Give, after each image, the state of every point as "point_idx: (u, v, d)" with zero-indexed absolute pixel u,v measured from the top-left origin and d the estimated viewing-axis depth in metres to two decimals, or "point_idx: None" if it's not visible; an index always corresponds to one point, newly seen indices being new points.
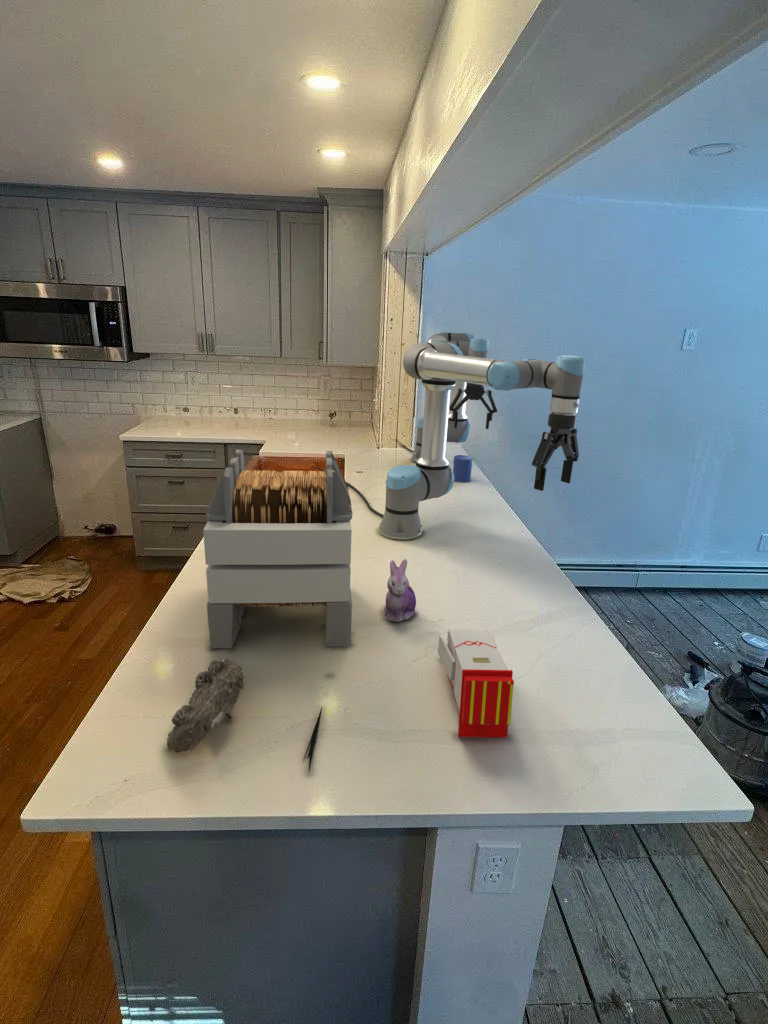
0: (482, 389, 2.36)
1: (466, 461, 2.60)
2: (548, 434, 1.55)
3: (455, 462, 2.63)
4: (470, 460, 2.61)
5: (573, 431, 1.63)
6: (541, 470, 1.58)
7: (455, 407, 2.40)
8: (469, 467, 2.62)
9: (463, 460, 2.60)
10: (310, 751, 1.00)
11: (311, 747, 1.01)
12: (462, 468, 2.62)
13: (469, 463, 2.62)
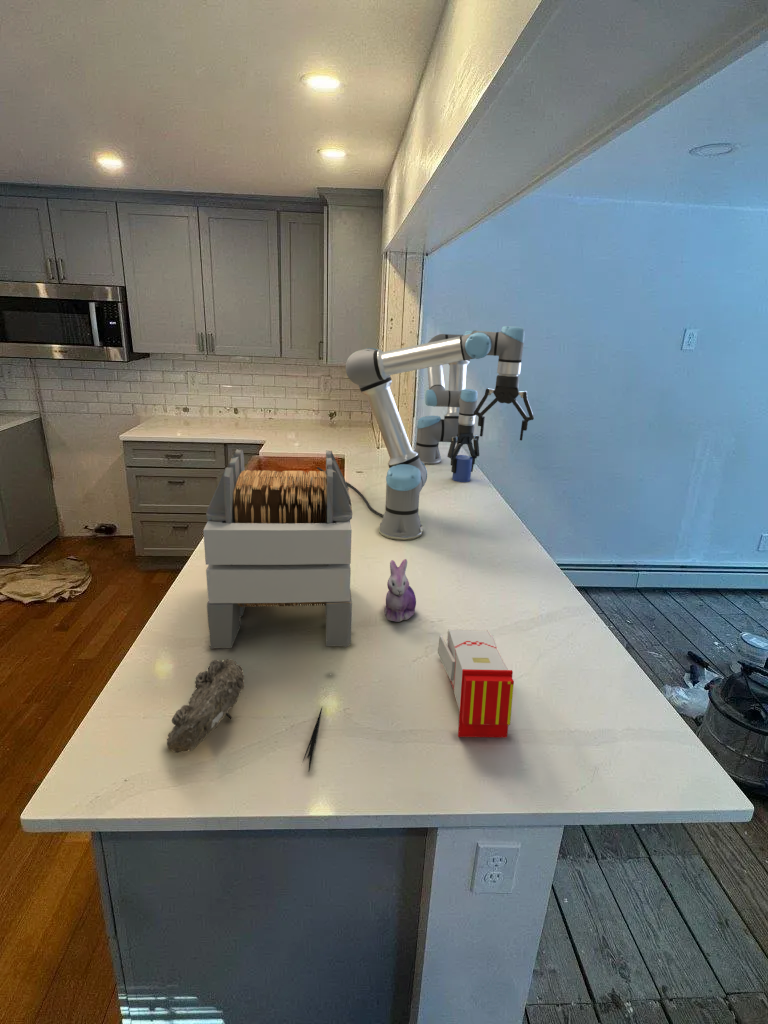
0: (472, 434, 2.61)
1: (466, 461, 2.60)
2: (526, 392, 1.90)
3: None
4: (470, 460, 2.61)
5: None
6: None
7: None
8: (469, 467, 2.62)
9: (463, 460, 2.60)
10: (310, 751, 1.00)
11: (311, 747, 1.01)
12: (462, 468, 2.62)
13: (469, 463, 2.62)
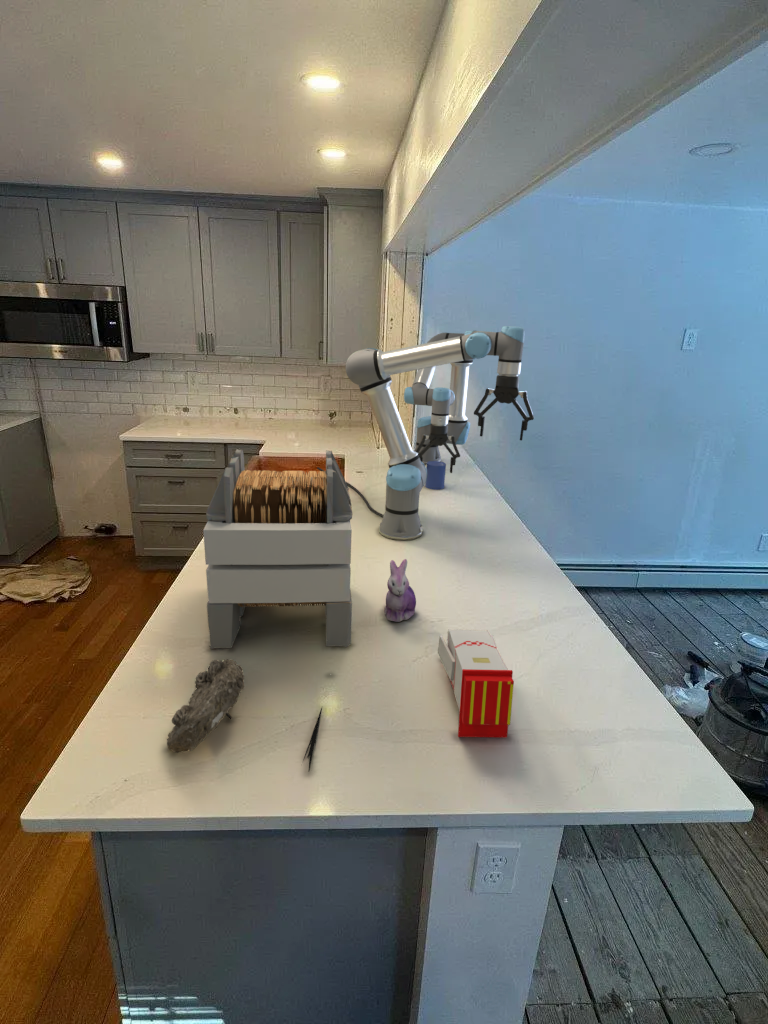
0: (445, 435, 2.46)
1: (435, 467, 2.48)
2: (526, 392, 1.90)
3: (426, 467, 2.52)
4: (440, 467, 2.48)
5: None
6: None
7: (420, 452, 2.50)
8: (439, 474, 2.49)
9: (432, 466, 2.48)
10: (310, 751, 1.00)
11: (311, 747, 1.01)
12: (431, 475, 2.49)
13: (439, 470, 2.48)
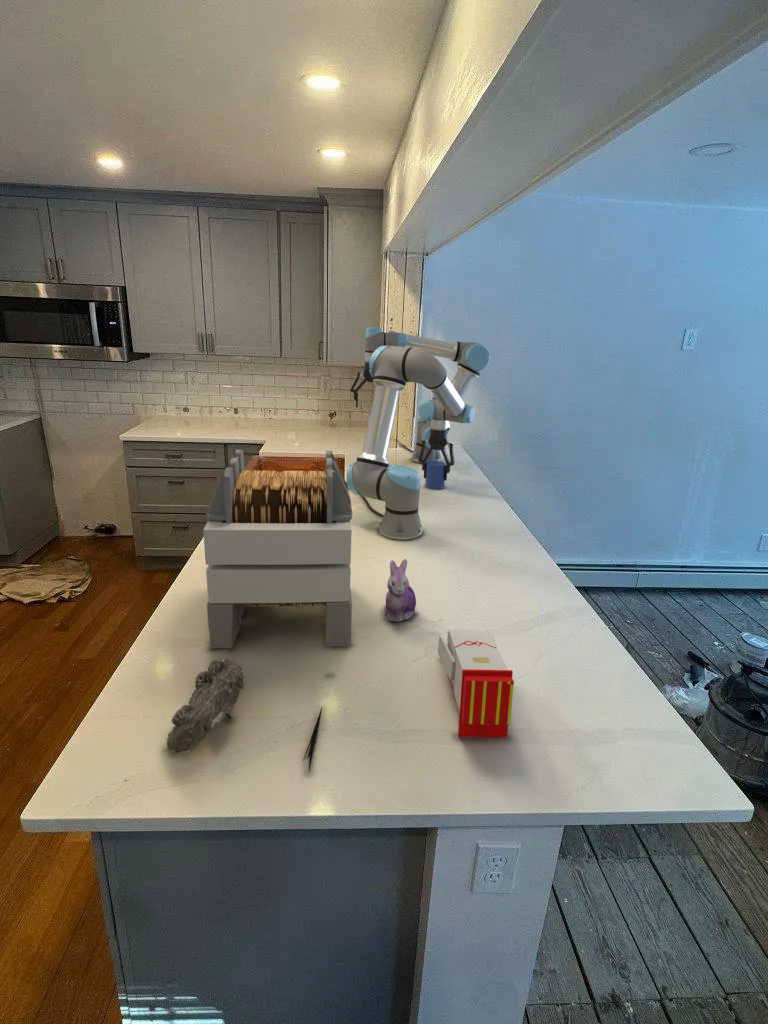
0: None
1: (435, 467, 2.48)
2: (453, 443, 2.47)
3: (426, 467, 2.52)
4: (440, 467, 2.48)
5: None
6: None
7: (355, 389, 2.70)
8: (439, 474, 2.49)
9: (432, 466, 2.48)
10: (310, 751, 1.00)
11: (311, 747, 1.01)
12: (431, 475, 2.49)
13: (439, 470, 2.48)
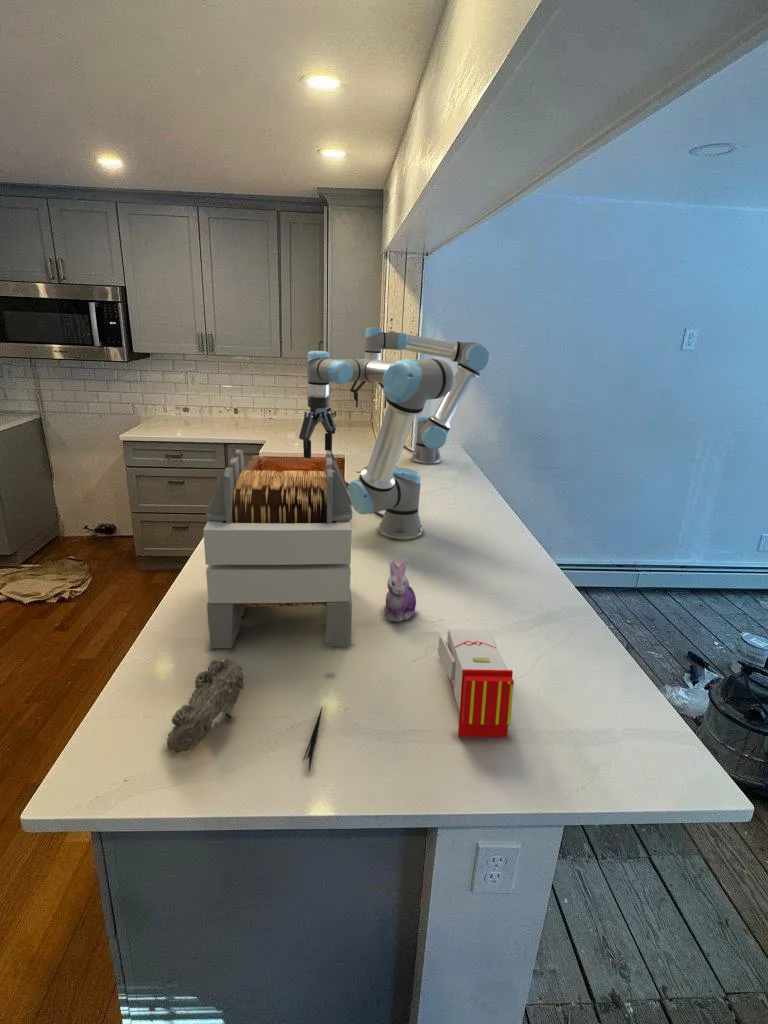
0: None
1: None
2: None
3: None
4: None
5: None
6: None
7: (355, 389, 2.70)
8: None
9: None
10: (310, 751, 1.00)
11: (311, 747, 1.01)
12: None
13: None
